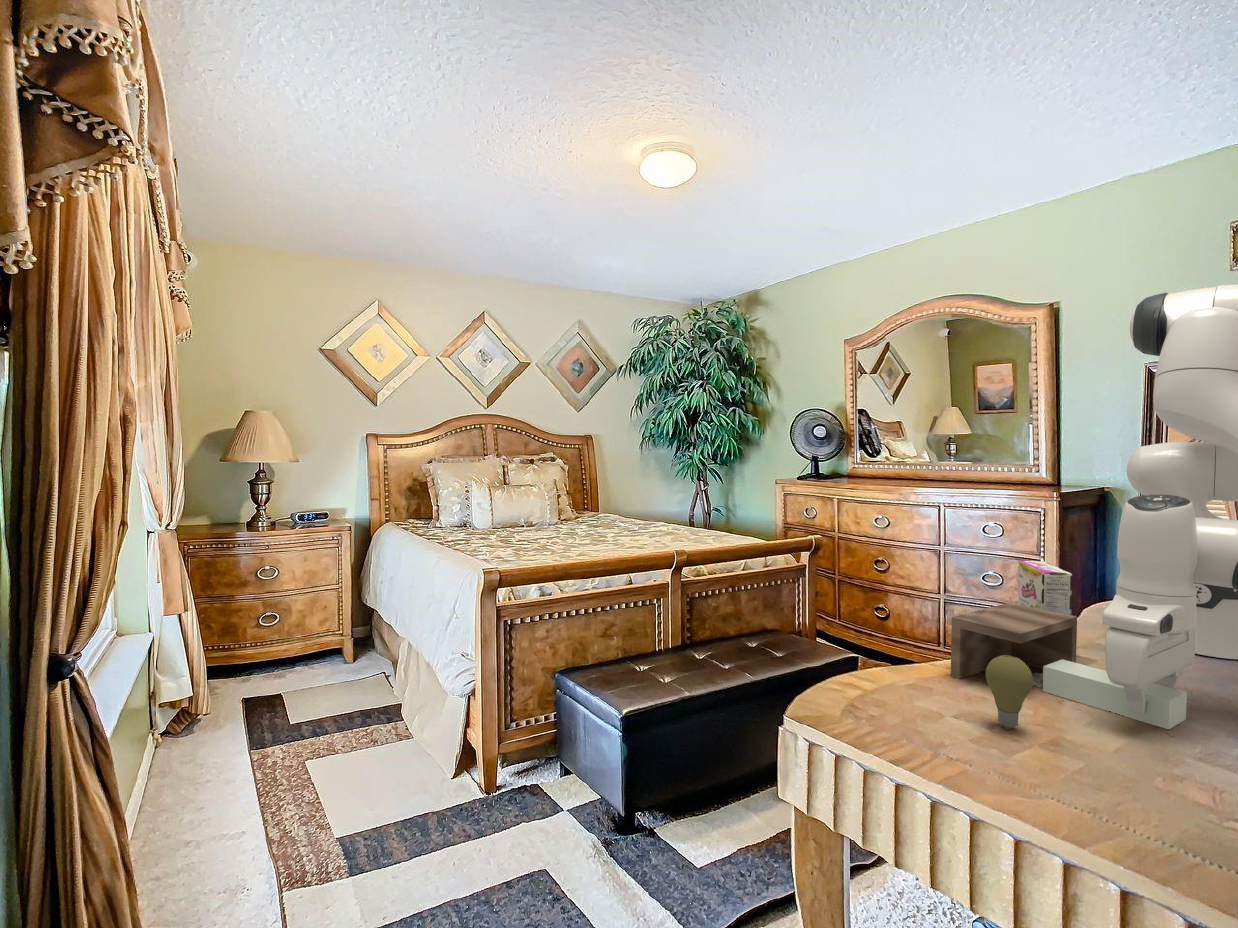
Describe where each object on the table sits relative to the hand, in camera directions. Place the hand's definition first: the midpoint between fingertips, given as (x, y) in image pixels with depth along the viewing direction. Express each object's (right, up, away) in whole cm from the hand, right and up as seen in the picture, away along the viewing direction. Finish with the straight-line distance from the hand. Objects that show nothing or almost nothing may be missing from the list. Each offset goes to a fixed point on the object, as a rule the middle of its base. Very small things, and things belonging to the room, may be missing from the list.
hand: (1151, 705), depth 93 cm
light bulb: (-23, -2, -3) cm, 23 cm away
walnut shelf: (-10, -1, +16) cm, 19 cm away
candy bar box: (+2, -1, +27) cm, 27 cm away
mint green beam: (-3, -2, +4) cm, 5 cm away
